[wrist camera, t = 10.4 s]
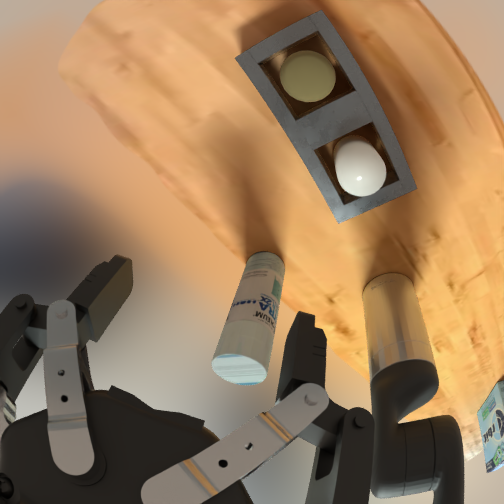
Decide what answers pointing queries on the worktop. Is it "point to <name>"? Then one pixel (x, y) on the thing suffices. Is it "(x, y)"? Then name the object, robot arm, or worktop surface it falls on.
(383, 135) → the cinder block
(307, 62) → the cork
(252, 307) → the spray paint can
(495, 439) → the gum box
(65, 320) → the robot arm
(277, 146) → the worktop surface
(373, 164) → the salt cellar
